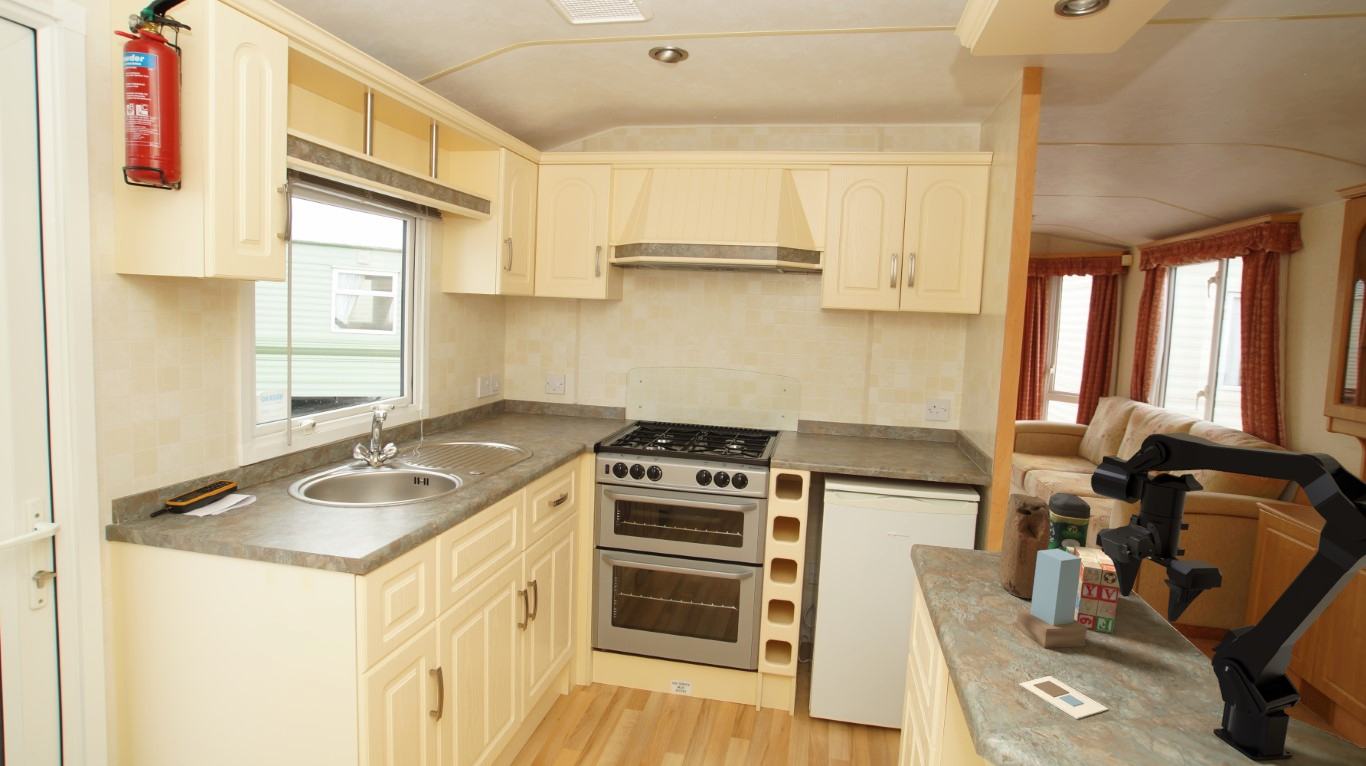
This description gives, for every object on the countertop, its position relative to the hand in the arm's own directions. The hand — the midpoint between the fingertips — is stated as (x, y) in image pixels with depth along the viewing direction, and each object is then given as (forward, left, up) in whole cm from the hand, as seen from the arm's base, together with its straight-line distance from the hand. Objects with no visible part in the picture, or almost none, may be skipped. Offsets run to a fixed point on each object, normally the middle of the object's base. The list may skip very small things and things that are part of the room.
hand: (1147, 608), depth 115 cm
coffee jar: (+44, -20, -13) cm, 50 cm away
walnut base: (+17, +3, -13) cm, 22 cm away
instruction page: (-2, +15, -13) cm, 20 cm away
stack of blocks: (+28, -13, -13) cm, 34 cm away
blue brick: (+17, +3, -10) cm, 20 cm away
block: (+37, -5, -13) cm, 40 cm away
